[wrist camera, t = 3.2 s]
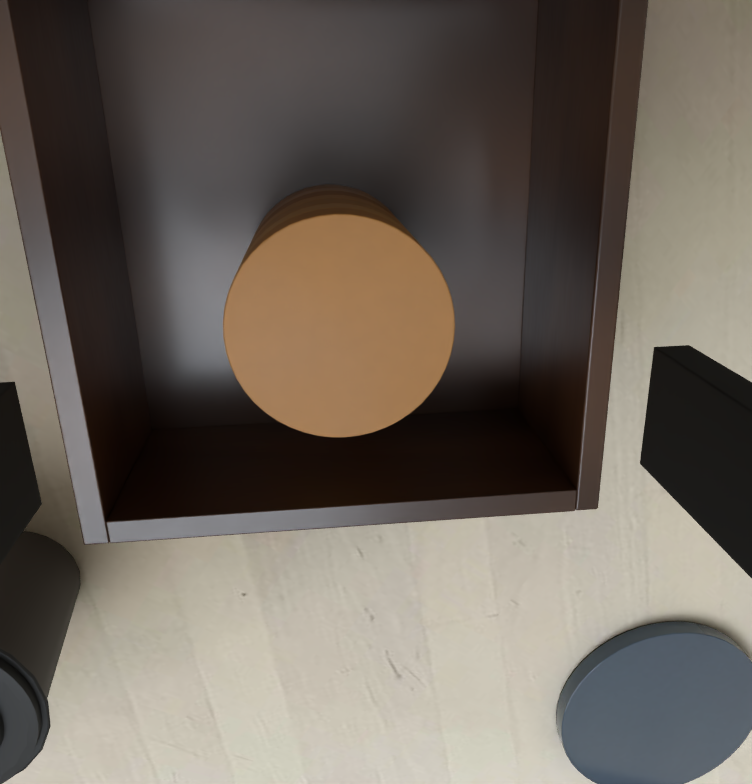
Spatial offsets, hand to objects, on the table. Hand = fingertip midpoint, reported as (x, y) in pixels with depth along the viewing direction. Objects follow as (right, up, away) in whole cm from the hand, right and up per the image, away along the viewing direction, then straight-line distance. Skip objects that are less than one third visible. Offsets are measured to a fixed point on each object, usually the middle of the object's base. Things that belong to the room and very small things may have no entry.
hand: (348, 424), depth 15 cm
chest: (-1, +8, +16) cm, 18 cm away
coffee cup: (-17, -8, +21) cm, 28 cm away
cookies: (-1, +6, +16) cm, 17 cm away
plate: (+17, -18, +28) cm, 37 cm away
